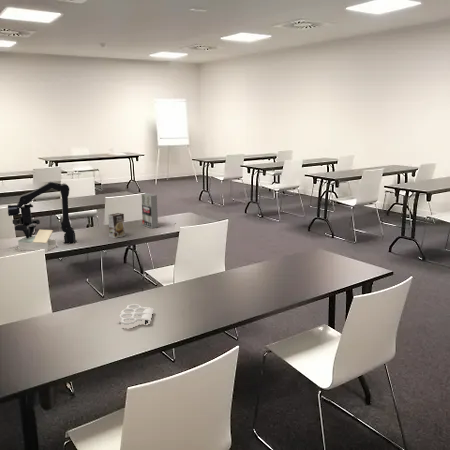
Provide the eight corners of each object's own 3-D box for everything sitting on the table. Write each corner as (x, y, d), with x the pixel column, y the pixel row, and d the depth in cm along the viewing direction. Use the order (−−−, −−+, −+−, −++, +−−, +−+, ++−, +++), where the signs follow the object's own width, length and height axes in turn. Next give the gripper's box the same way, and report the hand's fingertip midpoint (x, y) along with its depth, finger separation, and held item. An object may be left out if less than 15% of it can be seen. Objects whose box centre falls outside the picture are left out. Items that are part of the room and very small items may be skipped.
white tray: (57, 246, 290) (56, 238, 288) (46, 251, 278) (46, 243, 277) (29, 244, 293) (28, 237, 292) (18, 249, 281) (17, 242, 280)
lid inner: (53, 230, 284) (52, 230, 284) (46, 243, 278) (46, 242, 277) (39, 230, 286) (39, 229, 285) (33, 242, 279) (32, 241, 279)
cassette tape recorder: (141, 225, 345) (140, 193, 339) (148, 224, 349) (147, 193, 343) (151, 228, 335) (150, 196, 329) (158, 227, 339) (157, 195, 333)
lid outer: (40, 237, 289) (40, 236, 289) (31, 242, 279) (31, 241, 279) (27, 237, 291) (27, 235, 291) (18, 241, 281) (17, 240, 281)
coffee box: (115, 238, 308) (113, 215, 304) (109, 236, 312) (107, 214, 308) (125, 235, 315) (124, 213, 311) (119, 234, 319) (118, 212, 315)
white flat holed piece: (150, 329, 176) (113, 330, 175) (155, 310, 194) (121, 311, 193) (149, 322, 175) (112, 323, 175) (154, 303, 193) (120, 304, 192)
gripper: (23, 210, 293) (26, 233, 298) (5, 217, 276) (8, 241, 280) (39, 211, 291) (41, 233, 296) (21, 218, 274) (24, 242, 278)
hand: (29, 237), depth 287 cm, fingers closed on lid outer, 3 cm apart
